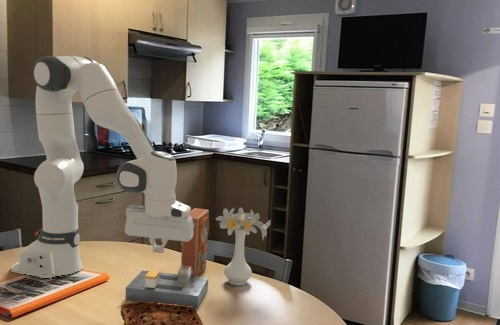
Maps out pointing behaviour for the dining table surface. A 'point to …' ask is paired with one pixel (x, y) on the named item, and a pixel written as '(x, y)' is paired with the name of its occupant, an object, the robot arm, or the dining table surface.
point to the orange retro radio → (196, 242)
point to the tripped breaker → (152, 279)
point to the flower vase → (240, 242)
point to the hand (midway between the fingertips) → (158, 252)
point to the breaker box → (170, 288)
